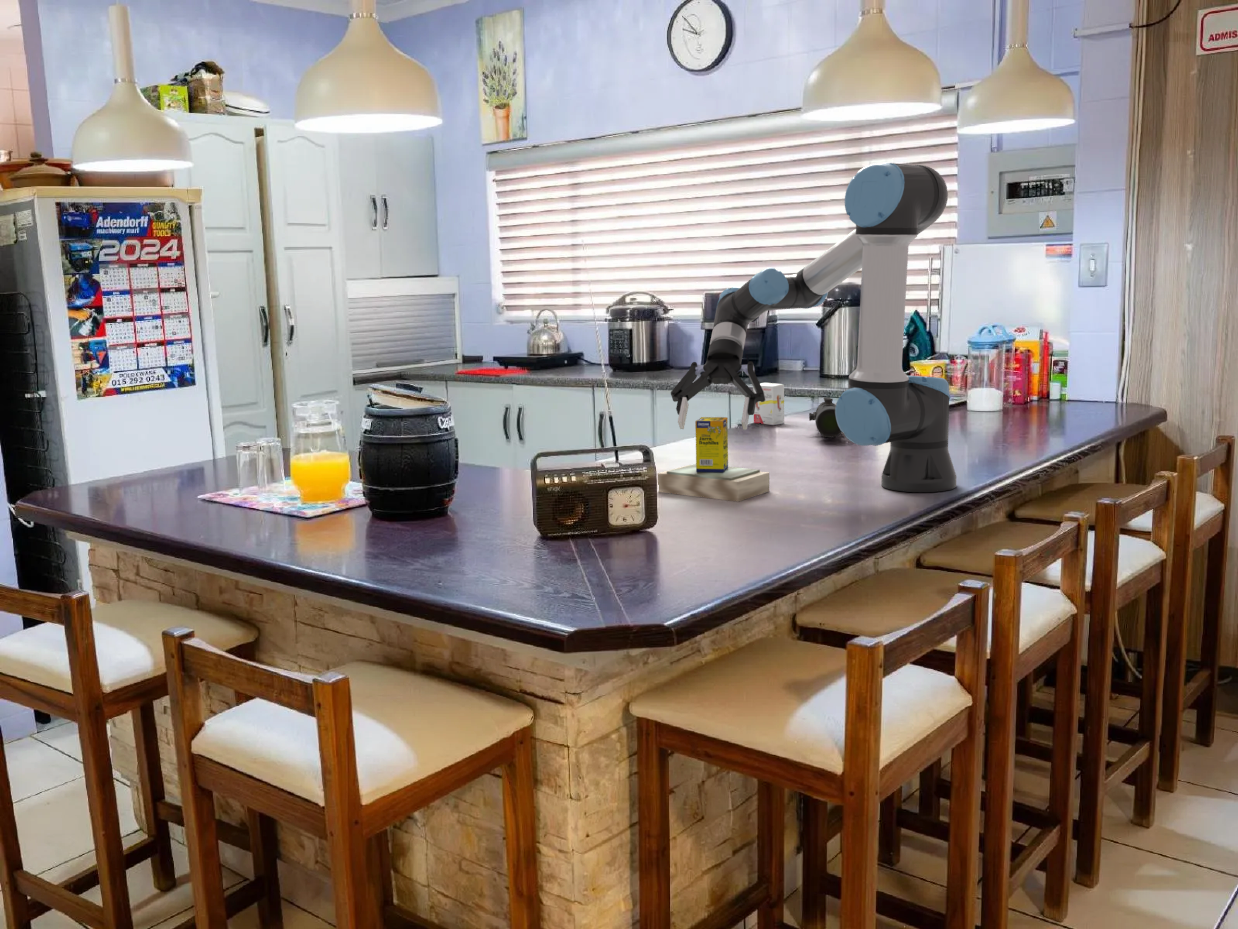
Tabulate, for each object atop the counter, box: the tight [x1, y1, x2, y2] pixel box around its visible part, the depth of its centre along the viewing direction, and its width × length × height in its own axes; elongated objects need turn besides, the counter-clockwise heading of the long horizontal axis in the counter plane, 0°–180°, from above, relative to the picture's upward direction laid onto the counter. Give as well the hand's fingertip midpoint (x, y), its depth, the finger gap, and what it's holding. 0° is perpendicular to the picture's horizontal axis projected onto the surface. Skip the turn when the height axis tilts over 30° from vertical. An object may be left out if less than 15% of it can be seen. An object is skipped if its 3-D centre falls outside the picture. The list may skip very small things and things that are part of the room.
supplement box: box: [695, 416, 729, 473], centre depth 233 cm, size 6×6×11 cm
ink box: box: [752, 382, 785, 426], centre depth 334 cm, size 9×5×12 cm, turn 39°
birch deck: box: [657, 463, 770, 502], centre depth 234 cm, size 20×12×4 cm, turn 51°
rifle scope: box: [808, 396, 843, 439], centre depth 307 cm, size 10×26×10 cm, turn 172°
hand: (712, 425), depth 234 cm, fingers open, 13 cm apart
